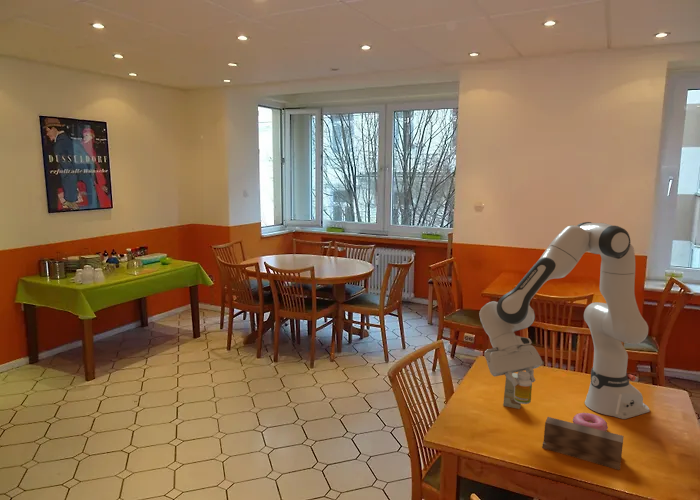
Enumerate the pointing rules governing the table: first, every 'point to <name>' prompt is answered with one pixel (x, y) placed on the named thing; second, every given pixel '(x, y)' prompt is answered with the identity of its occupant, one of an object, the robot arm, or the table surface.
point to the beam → (583, 442)
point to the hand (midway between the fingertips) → (524, 383)
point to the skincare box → (510, 394)
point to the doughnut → (590, 421)
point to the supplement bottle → (523, 388)
